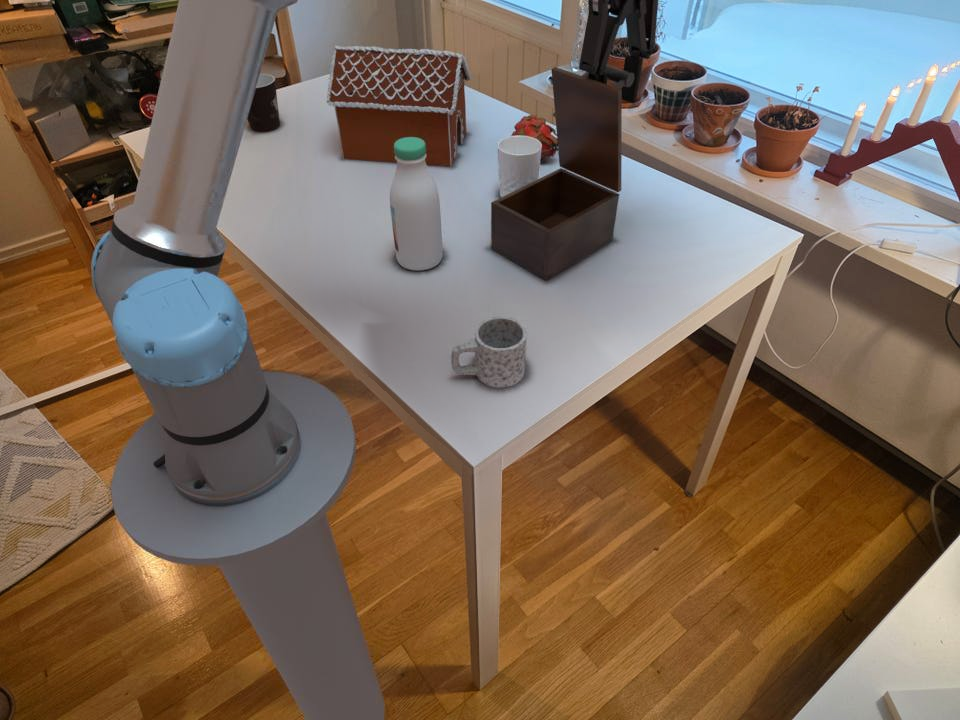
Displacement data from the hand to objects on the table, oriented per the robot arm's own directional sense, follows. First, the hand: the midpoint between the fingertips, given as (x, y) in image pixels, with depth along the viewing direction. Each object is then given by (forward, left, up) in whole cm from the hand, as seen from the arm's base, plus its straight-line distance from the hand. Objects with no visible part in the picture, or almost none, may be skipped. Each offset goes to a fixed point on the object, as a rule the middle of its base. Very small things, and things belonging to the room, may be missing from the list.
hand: (611, 107), depth 102 cm
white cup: (-8, +14, -20) cm, 26 cm away
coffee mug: (-41, +69, -20) cm, 83 cm away
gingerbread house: (-17, +44, -20) cm, 51 cm away
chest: (-12, -3, -20) cm, 23 cm away
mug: (-37, -24, -20) cm, 48 cm away
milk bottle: (-33, +5, -20) cm, 39 cm away
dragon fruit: (+4, +26, -20) cm, 33 cm away
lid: (-6, -1, -2) cm, 6 cm away
